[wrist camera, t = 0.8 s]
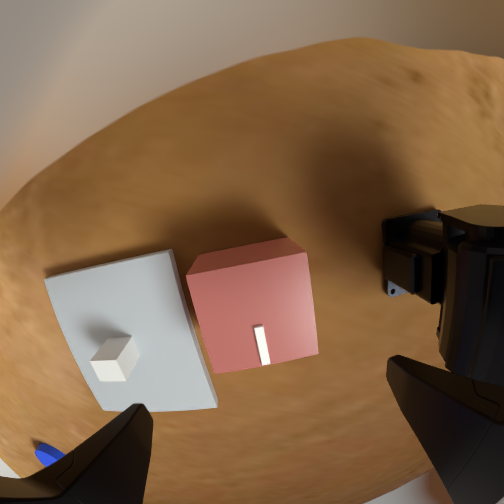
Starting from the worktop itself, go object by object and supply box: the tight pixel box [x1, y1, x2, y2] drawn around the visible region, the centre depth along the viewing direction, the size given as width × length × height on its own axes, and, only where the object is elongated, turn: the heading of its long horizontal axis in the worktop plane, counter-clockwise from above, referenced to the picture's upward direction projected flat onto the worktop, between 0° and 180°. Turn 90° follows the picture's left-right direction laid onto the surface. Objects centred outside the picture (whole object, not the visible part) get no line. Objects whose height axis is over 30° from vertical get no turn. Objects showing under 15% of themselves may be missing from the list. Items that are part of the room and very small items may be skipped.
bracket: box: [35, 443, 65, 467], centre depth 21 cm, size 18×8×9 cm, turn 18°
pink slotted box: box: [186, 237, 318, 374], centre depth 17 cm, size 6×6×6 cm
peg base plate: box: [44, 249, 218, 412], centre depth 18 cm, size 12×14×5 cm
